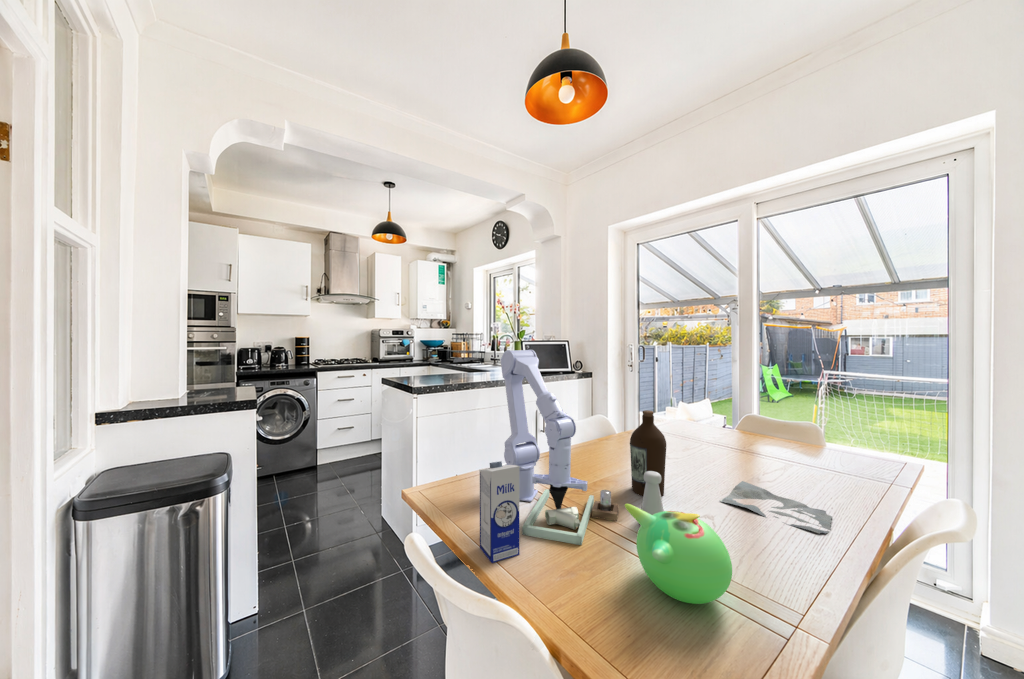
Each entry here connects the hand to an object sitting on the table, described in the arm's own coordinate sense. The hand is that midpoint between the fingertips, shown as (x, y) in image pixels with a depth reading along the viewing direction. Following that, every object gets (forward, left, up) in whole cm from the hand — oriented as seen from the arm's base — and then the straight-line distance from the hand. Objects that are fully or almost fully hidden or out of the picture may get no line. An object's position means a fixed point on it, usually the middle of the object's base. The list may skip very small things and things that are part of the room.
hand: (559, 512), depth 102 cm
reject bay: (+1, 0, -1) cm, 1 cm away
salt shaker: (+24, +5, -1) cm, 24 cm away
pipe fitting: (+2, -4, -2) cm, 5 cm away
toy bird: (+28, -21, -1) cm, 35 cm away
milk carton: (-9, -20, -1) cm, 22 cm away
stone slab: (+57, +24, -2) cm, 62 cm away
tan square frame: (+12, +6, -1) cm, 13 cm away
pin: (+12, +6, -1) cm, 13 cm away
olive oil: (+23, +25, -1) cm, 34 cm away
